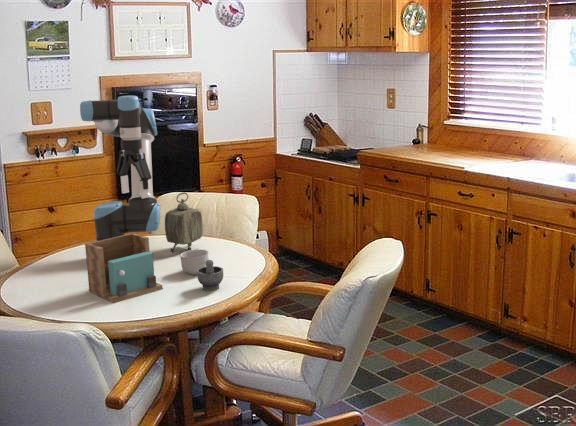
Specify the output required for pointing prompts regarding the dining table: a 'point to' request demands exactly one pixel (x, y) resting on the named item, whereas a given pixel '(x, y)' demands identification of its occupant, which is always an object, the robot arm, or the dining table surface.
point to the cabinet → (112, 250)
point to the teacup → (193, 260)
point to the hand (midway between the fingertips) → (135, 195)
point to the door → (131, 272)
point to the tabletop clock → (183, 224)
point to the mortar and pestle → (210, 276)
